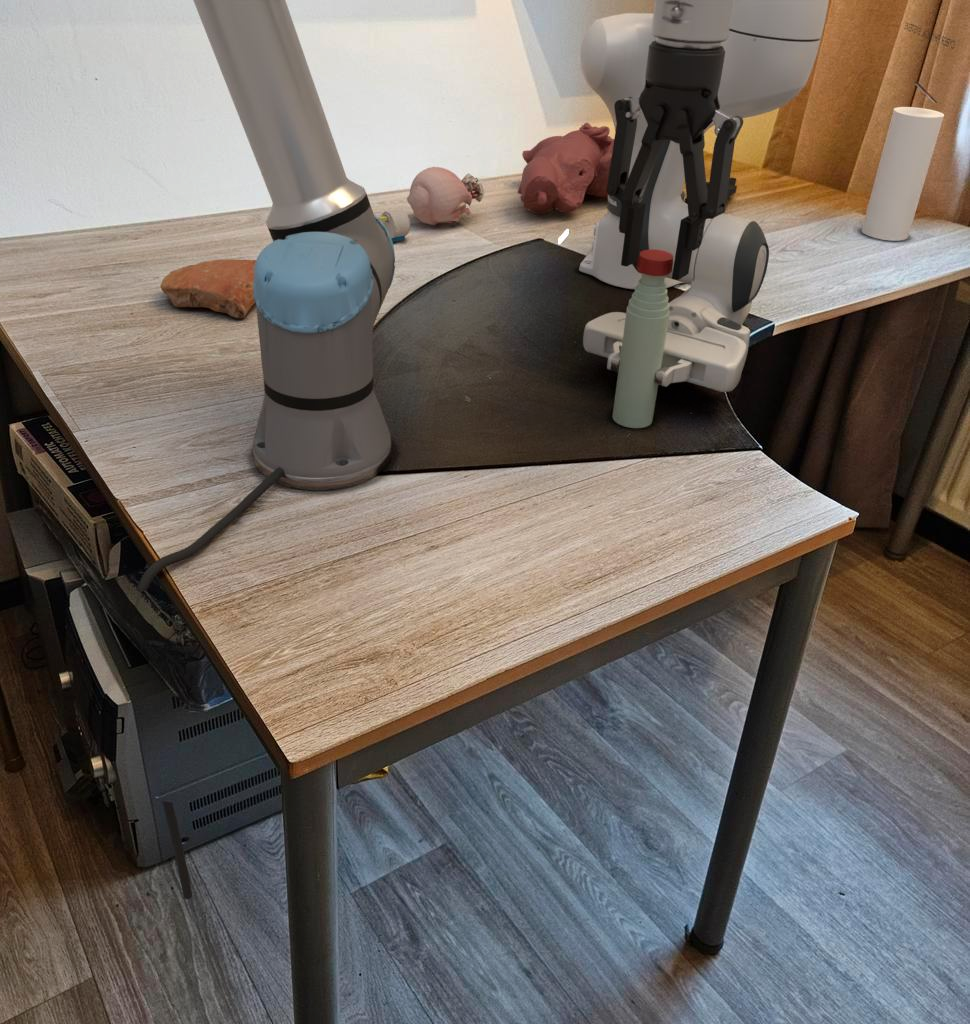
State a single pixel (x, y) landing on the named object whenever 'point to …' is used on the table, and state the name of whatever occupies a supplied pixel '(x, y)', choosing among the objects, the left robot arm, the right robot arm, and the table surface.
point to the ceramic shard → (213, 286)
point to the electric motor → (396, 223)
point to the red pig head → (566, 170)
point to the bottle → (641, 353)
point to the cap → (655, 262)
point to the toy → (442, 195)
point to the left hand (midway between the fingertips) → (654, 269)
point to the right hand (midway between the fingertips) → (636, 372)
